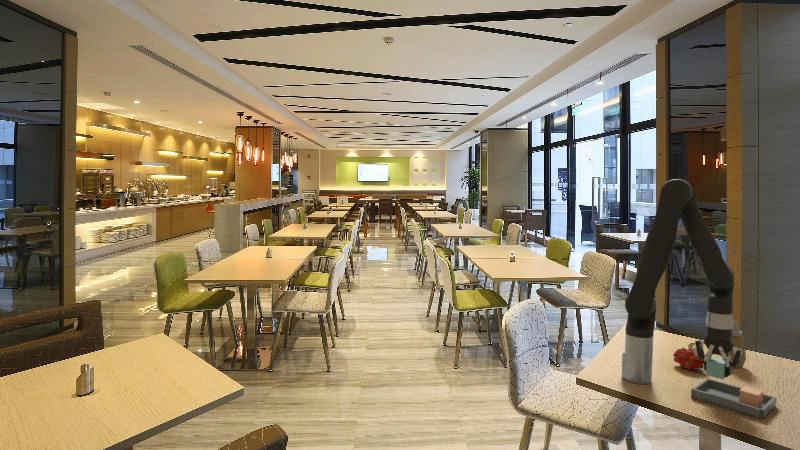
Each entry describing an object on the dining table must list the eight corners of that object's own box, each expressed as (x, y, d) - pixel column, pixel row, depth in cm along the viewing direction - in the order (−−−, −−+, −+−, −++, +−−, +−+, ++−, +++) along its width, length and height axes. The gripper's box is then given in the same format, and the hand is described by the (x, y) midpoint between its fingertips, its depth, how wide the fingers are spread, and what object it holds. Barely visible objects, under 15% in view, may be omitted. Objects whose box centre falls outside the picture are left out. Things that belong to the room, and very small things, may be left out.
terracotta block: (738, 404, 155) (739, 390, 155) (743, 400, 158) (744, 385, 158) (757, 410, 151) (758, 395, 151) (762, 405, 155) (763, 391, 154)
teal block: (706, 375, 162) (706, 360, 162) (711, 371, 165) (712, 357, 165) (723, 379, 158) (723, 364, 158) (728, 375, 162) (728, 361, 161)
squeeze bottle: (735, 362, 194) (737, 318, 192) (750, 369, 185) (753, 324, 184) (716, 362, 193) (718, 319, 192) (730, 370, 185) (733, 325, 184)
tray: (691, 397, 162) (691, 388, 162) (706, 386, 171) (707, 378, 171) (762, 419, 147) (763, 410, 146) (775, 406, 155) (776, 397, 155)
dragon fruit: (671, 366, 193) (703, 380, 184) (665, 359, 188) (698, 373, 179) (680, 348, 195) (712, 361, 186) (675, 340, 190) (708, 353, 180)
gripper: (691, 322, 164) (689, 370, 165) (740, 332, 153) (738, 383, 154) (699, 318, 168) (698, 365, 170) (748, 327, 157) (746, 377, 159)
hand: (717, 373), depth 162 cm, fingers closed on teal block, 5 cm apart
